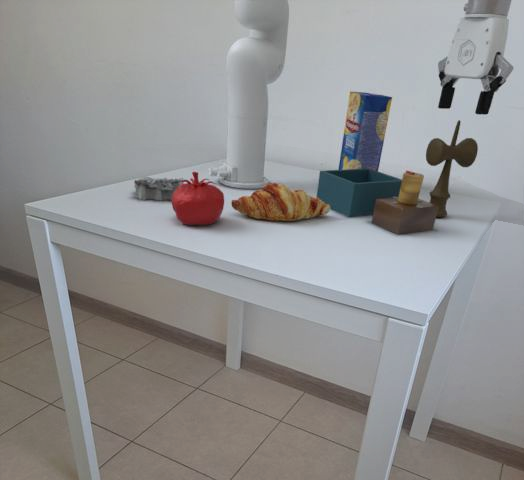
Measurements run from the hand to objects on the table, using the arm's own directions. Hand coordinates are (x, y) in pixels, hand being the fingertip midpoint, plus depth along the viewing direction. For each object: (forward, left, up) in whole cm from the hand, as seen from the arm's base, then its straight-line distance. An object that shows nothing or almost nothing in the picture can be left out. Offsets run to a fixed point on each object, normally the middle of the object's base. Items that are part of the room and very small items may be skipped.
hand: (462, 111), depth 99 cm
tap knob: (-14, -4, -17) cm, 22 cm away
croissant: (-36, +9, -22) cm, 43 cm away
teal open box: (-14, +11, -22) cm, 28 cm away
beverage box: (0, +29, -22) cm, 37 cm away
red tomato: (-54, +11, -22) cm, 59 cm away
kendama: (0, 0, -22) cm, 22 cm away
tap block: (-14, -4, -22) cm, 26 cm away
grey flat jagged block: (-55, +31, -22) cm, 66 cm away
